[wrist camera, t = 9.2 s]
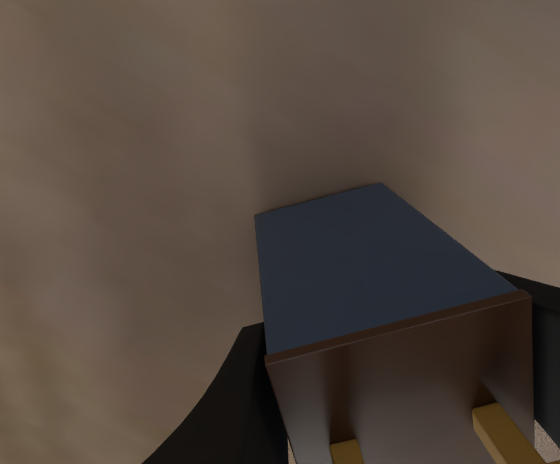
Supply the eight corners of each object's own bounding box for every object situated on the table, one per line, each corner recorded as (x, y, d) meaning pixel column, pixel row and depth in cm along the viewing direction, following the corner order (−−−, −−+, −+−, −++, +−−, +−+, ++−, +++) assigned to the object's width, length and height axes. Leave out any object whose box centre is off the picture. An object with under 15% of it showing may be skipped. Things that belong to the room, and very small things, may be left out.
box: (658, 655, 7) (700, 408, 5) (344, 735, 7) (261, 521, 5) (406, 303, 18) (388, 179, 16) (282, 335, 18) (247, 216, 16)
